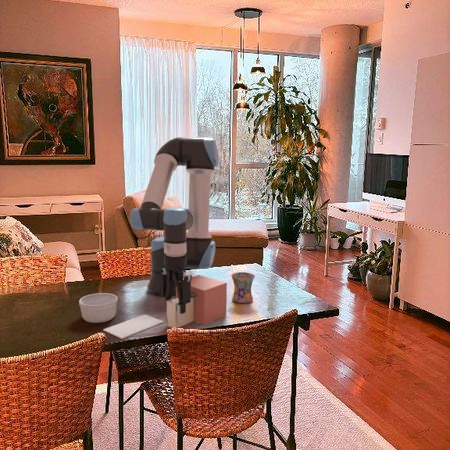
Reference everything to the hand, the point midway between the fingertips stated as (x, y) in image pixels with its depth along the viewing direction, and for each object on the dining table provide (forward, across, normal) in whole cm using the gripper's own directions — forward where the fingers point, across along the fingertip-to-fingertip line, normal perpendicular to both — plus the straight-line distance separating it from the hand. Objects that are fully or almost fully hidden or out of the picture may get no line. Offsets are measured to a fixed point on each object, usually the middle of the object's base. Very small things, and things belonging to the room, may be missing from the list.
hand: (175, 319), depth 155 cm
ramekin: (+2, -26, -13) cm, 29 cm away
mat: (+2, -10, -10) cm, 14 cm away
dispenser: (+2, 0, +13) cm, 13 cm away
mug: (+2, +1, +36) cm, 36 cm away
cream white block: (+2, 0, +5) cm, 6 cm away
